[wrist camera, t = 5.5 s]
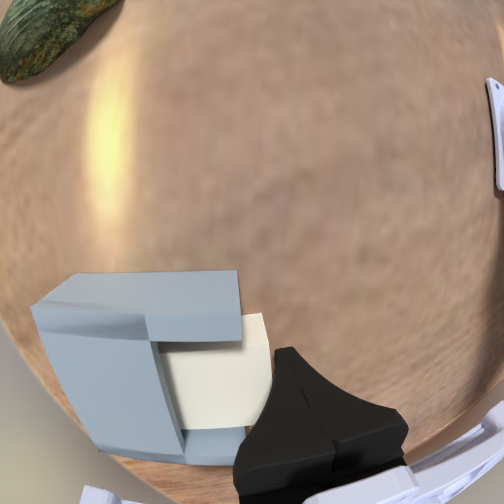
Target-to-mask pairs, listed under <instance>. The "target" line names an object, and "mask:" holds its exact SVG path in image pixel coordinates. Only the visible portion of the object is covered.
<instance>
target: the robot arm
mask: <svg viewBox="0 0 504 504" xmlns="http://www.w3.org/2000/svg"><path fill="white" fill-rule="evenodd" d="M486 82H487V87H488V92H489V98H490V104H491V110H492V118H493V126H494V137H495V152H496V185H497V188H498V189H499V190H502V191H504V86H503V85H501V84H500V83H498V82H497V81H495V80H494V79H493V78H487V80H486ZM274 353H275V372H274V378H273V382H272V386H271V390H270V393H269V396H268V398H267V401H266V404H265V406H264V408H263V410H262V412H261V414H260V416H259V418H258V420H257V421H256V423H255V425H254V426H253V428H252V429H251V431H250V432H249V434H248V435H247V436H246V438H245V439H244V440H243V441H242V443H241V444H240V445H239V448H238V451H237V454H236V457H235V461H234V465H233V482H234V486H235V488H236V490H237V492H238V495H239V503H240V504H444V503H445V502H447V501H449V500H450V499H451V498H453V497H454V496H456V495H457V494H459V493H460V492H461V491H463V490H464V489H465V488H467V487H468V486H469V485H471V484H472V483H473V482H474V481H476V480H477V479H478V478H480V477H481V476H482V475H483V474H485V473H486V472H487V471H488V470H489V469H490V468H492V467H493V466H494V465H495V464H496V463H497V462H498V461H500V460H501V459H502V458H503V457H504V401H503V400H502V401H500V402H499V403H498V404H497V405H495V406H494V407H493V408H491V409H490V410H489V411H488V412H487V413H486V415H485V416H484V418H483V419H482V422H481V423H480V424H478V425H477V426H476V427H474V428H473V429H471V430H470V431H469V432H467V433H465V434H464V435H462V436H461V437H459V438H458V439H456V440H454V441H453V442H451V443H449V444H448V445H446V446H444V447H443V448H441V449H439V450H437V451H435V452H434V453H432V454H430V455H428V456H426V457H424V458H422V459H420V460H418V461H416V462H414V463H412V464H410V465H408V466H407V465H406V463H405V461H404V459H403V457H402V456H403V455H404V452H403V450H402V449H401V446H402V444H403V442H404V440H405V438H406V436H407V433H408V430H409V429H408V425H407V423H406V422H405V420H404V419H403V418H402V416H401V415H400V414H399V413H398V412H397V411H396V409H392V408H388V407H384V406H380V405H376V404H373V403H370V402H367V401H365V400H362V399H360V398H358V397H355V396H353V395H351V394H349V393H347V392H345V391H343V390H342V389H340V388H338V387H337V386H335V385H334V384H332V383H331V382H329V381H328V380H327V379H325V378H324V377H323V376H322V375H320V374H319V373H318V372H317V371H316V370H315V369H314V368H312V367H311V366H310V365H309V364H308V363H307V362H306V361H305V360H304V359H303V358H302V357H301V356H300V354H299V353H298V352H297V351H296V350H295V348H293V347H286V348H280V349H276V350H275V351H274ZM79 504H143V503H137V502H131V501H126V500H121V499H120V498H119V497H118V496H117V495H116V494H114V493H112V492H110V491H108V490H104V489H100V488H96V487H93V486H89V485H85V487H84V489H83V493H82V496H81V499H80V502H79Z"/></svg>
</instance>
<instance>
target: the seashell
mask: <svg viewBox="0 0 504 504" xmlns="http://www.w3.org/2000/svg"><path fill="white" fill-rule="evenodd" d="M118 1H119V0H13V2H12V4H11V5H10V7H9V8H8V10H7V12H6V14H5V17H4V19H3V21H2V23H1V26H0V78H3V82H6V81H8V82H9V83H16V82H17V81H19V80H27V79H29V78H31V77H33V76H35V75H37V74H39V73H40V72H42V71H43V70H45V69H46V68H47V67H49V66H50V65H51V64H52V63H53V62H54V61H55V60H56V59H57V58H58V57H59V56H60V55H61V54H62V53H63V52H64V51H65V50H66V49H67V48H68V47H69V46H70V45H71V44H72V43H74V42H76V41H77V40H78V39H79V38H80V37H81V36H82V35H83V34H84V32H85V31H86V28H87V27H88V26H89V25H90V23H91V22H92V21H93V20H94V19H95V18H96V17H97V16H98V15H99V13H101V12H102V11H104V10H106V9H107V8H109V7H110V6H113V5H115V4H116V3H117V2H118Z"/></svg>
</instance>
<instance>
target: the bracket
mask: <svg viewBox="0 0 504 504" xmlns="http://www.w3.org/2000/svg"><path fill="white" fill-rule="evenodd" d="M30 308H31V311H32V315H33V318H34V321H35V324H36V327H37V330H38V333H39V335H40V338H41V341H42V343H43V346H44V349H45V351H46V354H47V356H48V358H49V361H50V363H51V365H52V368H53V370H54V372H55V374H56V376H57V379H58V381H59V383H60V385H61V387H62V389H63V391H64V393H65V395H66V397H67V399H68V400H69V402H70V404H71V406H72V408H73V410H74V411H75V413H76V415H77V417H78V418H79V420H80V422H81V423H82V425H83V427H84V428H85V430H86V431H87V433H88V435H89V436H90V438H91V439H92V441H93V442H94V444H95V445H96V447H97V448H98V449H99V451H100V452H103V453H107V454H112V455H117V456H122V457H127V458H133V459H139V460H146V461H153V462H162V463H172V464H185V465H217V466H219V465H234V461H235V457H236V454H237V451H238V448H239V445H240V444H241V443H242V441H243V440H244V439H245V438H246V436H245V426H241V427H229V428H215V429H180V427H179V424H178V421H177V418H176V415H175V411H174V408H173V405H172V401H171V398H170V394H169V390H168V387H167V383H166V379H165V375H164V371H163V367H162V363H161V358H160V354H159V350H158V345H157V341H170V342H209V341H241V340H242V331H241V309H240V298H239V287H238V276H237V270H222V271H189V272H147V273H76V274H74V275H73V276H71V277H70V278H69V279H67V280H66V281H65V282H63V283H62V284H60V285H59V286H58V287H56V288H55V289H54V290H52V291H51V292H50V293H48V294H47V295H46V296H44V297H43V298H42V299H41V300H39V301H38V302H37V303H35V304H34V305H33V306H32V307H30Z"/></svg>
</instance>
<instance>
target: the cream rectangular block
mask: <svg viewBox="0 0 504 504" xmlns="http://www.w3.org/2000/svg"><path fill="white" fill-rule="evenodd" d="M241 331H242V340H241V341H209V342H170V341H157V345H158V350H159V354H160V358H161V363H162V367H163V371H164V375H165V379H166V383H167V387H168V390H169V394H170V398H171V401H172V405H173V408H174V411H175V415H176V418H177V421H178V424H179V427H180V429H215V428H229V427H241V426H250V425H255V423H256V421H257V420H258V418H259V416H260V414H261V412H262V410H263V408H264V406H265V404H266V401H267V398H268V396H269V393H270V390H271V386H272V372H271V361H270V351H269V342H268V338H267V334H266V330H265V326H264V322H263V317H262V313H257V314H250V315H242V316H241Z"/></svg>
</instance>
